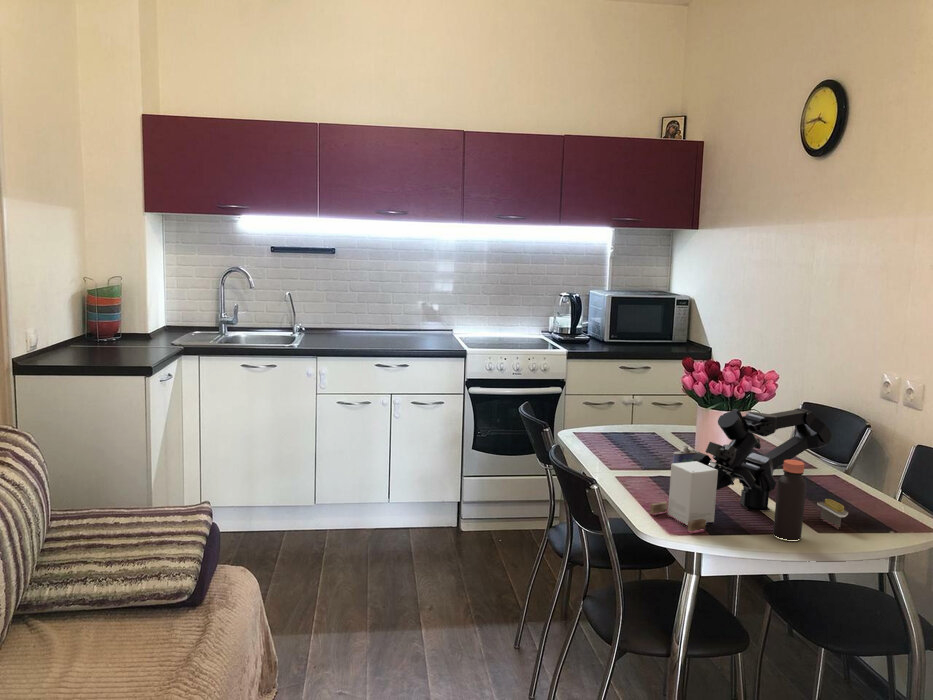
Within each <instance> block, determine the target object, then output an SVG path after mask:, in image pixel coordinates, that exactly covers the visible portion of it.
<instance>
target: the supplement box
mask: <svg viewBox="0 0 933 700" xmlns="http://www.w3.org/2000/svg"><path fill="white" fill-rule="evenodd" d="M670 467H671V468H670V476H669V478H670V479H669V494H668V506H667V515H668V514H669V515H671V516H673V517H674V518H676V519H677V520H679V521H681V522H683V523H685V524H686V525H688V521H693V520H698V519H704V520H706V523H707V522H714V523H715V511H716V501H717V500H716V499H717V491H716V489H717V478H718V470H716V469H714V468H712V467H709V466H707V465H704V464H702V463H700V462H698V461H693V462H684V463H674V464H673V463H671V464H670Z"/></svg>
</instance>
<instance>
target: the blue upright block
mask: <svg viewBox="0 0 933 700" xmlns="http://www.w3.org/2000/svg"><path fill="white" fill-rule="evenodd" d="M682 448H683V450H682V451H681V450H680V451H674V452H673V454H672V456H673V457H672V464H674V463H684V462H693V461H694V460H693V459H692V457H693V456H694V455H695V454H696V453H697V452H700V451H698V450H695V449H689V446H688V445H684V446H682Z"/></svg>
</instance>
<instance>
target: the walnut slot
mask: <svg viewBox="0 0 933 700" xmlns="http://www.w3.org/2000/svg"><path fill="white" fill-rule="evenodd" d="M668 506H669V502H666V501H660V502H654V503H650V512H649V514H650V513H652V514H654V513H659V512H665V511H667V512H668ZM706 525H707V524H706V520H704V519H698V520H693V521H688V527H687V530H689V531H695V530H700V529H705V530H706Z"/></svg>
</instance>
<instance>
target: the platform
mask: <svg viewBox="0 0 933 700" xmlns="http://www.w3.org/2000/svg"><path fill="white" fill-rule="evenodd" d="M816 504H817V506H819V507H820V508H821V512H820V519H821V518H823V519H825V520H827V521H829V522H831V523H833V524H835V525H837V526H839V527H840V528H841V522H842V518H846V517H847V516H848V515H849V511H847V510H845V506H844V505H843V504H841V503H839V502H838V501H835V500H833V499H831V498H825V499H824V501H818V502H817V503H816Z"/></svg>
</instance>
